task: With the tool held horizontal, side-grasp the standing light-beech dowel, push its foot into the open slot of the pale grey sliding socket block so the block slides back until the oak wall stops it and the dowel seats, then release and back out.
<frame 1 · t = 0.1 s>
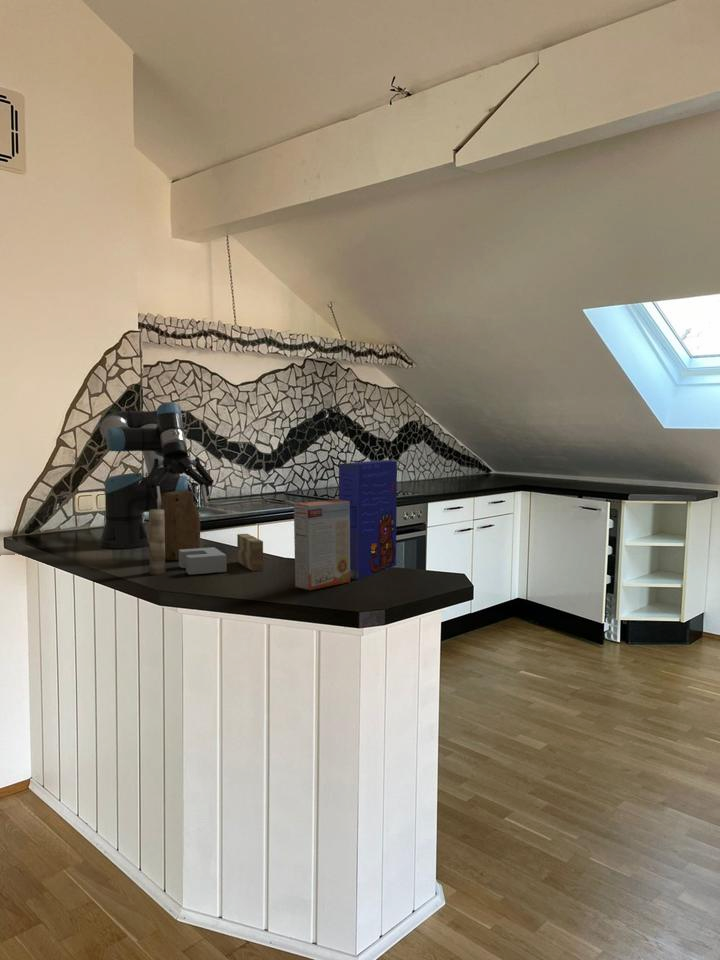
hand: (183, 506, 220), 15 cm above the counter, tool tilted 35°, fingers open, 13 cm apart
wall: (249, 565, 208), on the counter
dowel: (157, 573, 197), on the counter
block: (180, 559, 219), on the counter
cereal box: (368, 571, 202), on the counter
cracker box: (322, 585, 184), on the counter
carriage: (202, 560, 202), point 3 cm above the counter, slide at 0.0 cm
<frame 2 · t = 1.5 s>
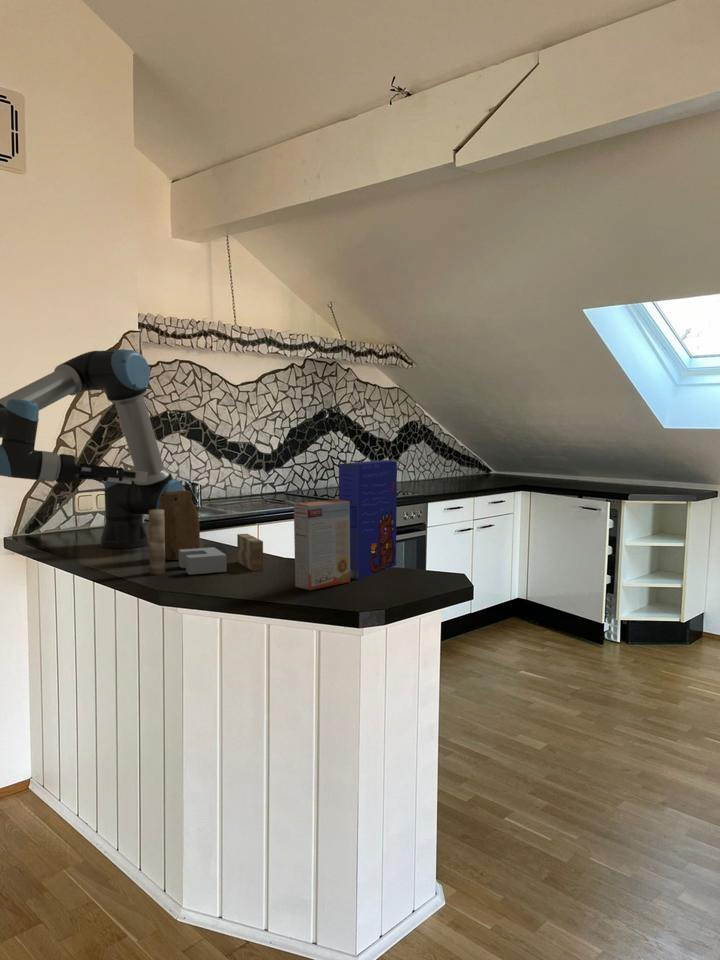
hand: (139, 478, 201), 25 cm above the counter, tool horizontal, fingers open, 13 cm apart
nothing on the counter moved.
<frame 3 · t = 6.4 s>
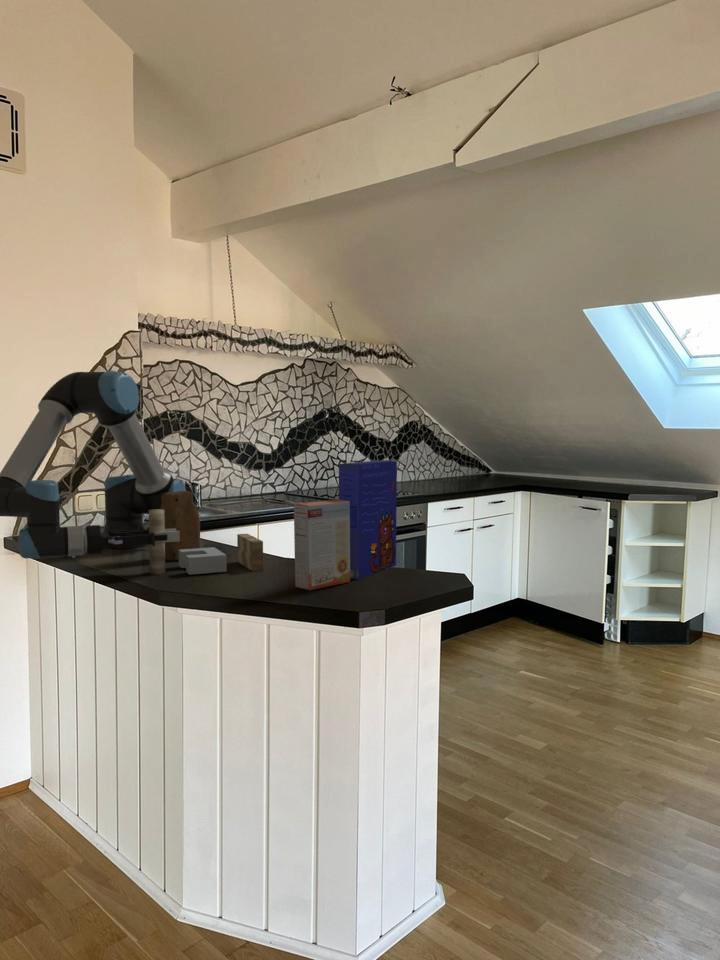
hand: (177, 534, 199), 10 cm above the counter, tool horizontal, fingers closed on dowel, 4 cm apart
dowel: (157, 573, 197), on the counter, touching gripper
everything else where it was.
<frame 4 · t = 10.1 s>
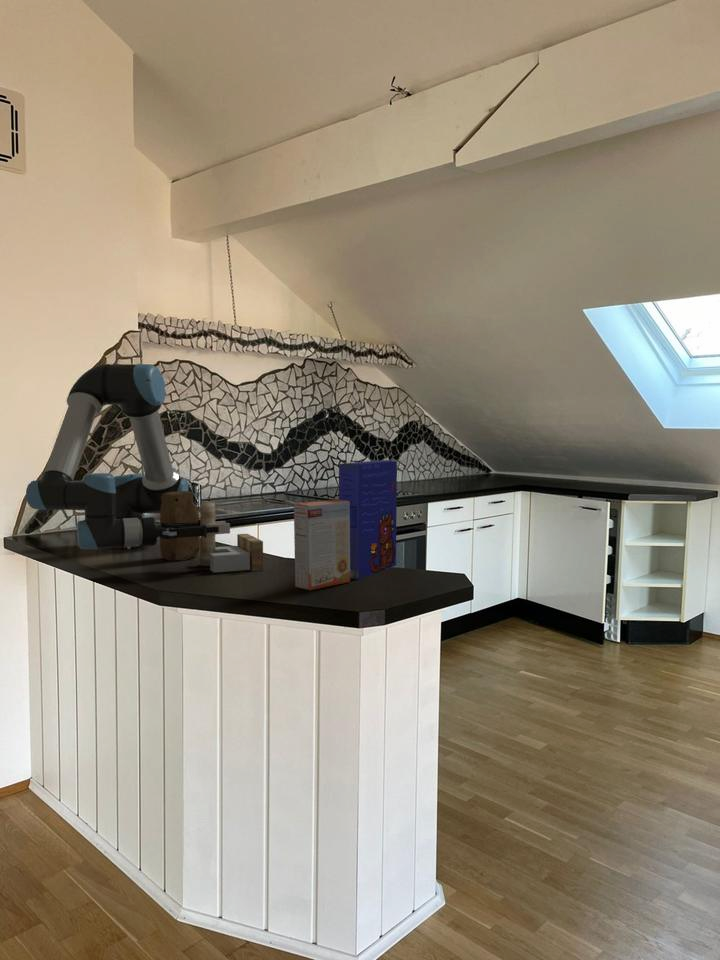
hand: (227, 527, 204), 11 cm above the counter, tool horizontal, fingers closed on dowel, 4 cm apart
dowel: (207, 564, 202), point 1 cm above the counter, touching gripper
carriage: (225, 558, 205), point 3 cm above the counter, slide at 6.5 cm
everything else where it was.
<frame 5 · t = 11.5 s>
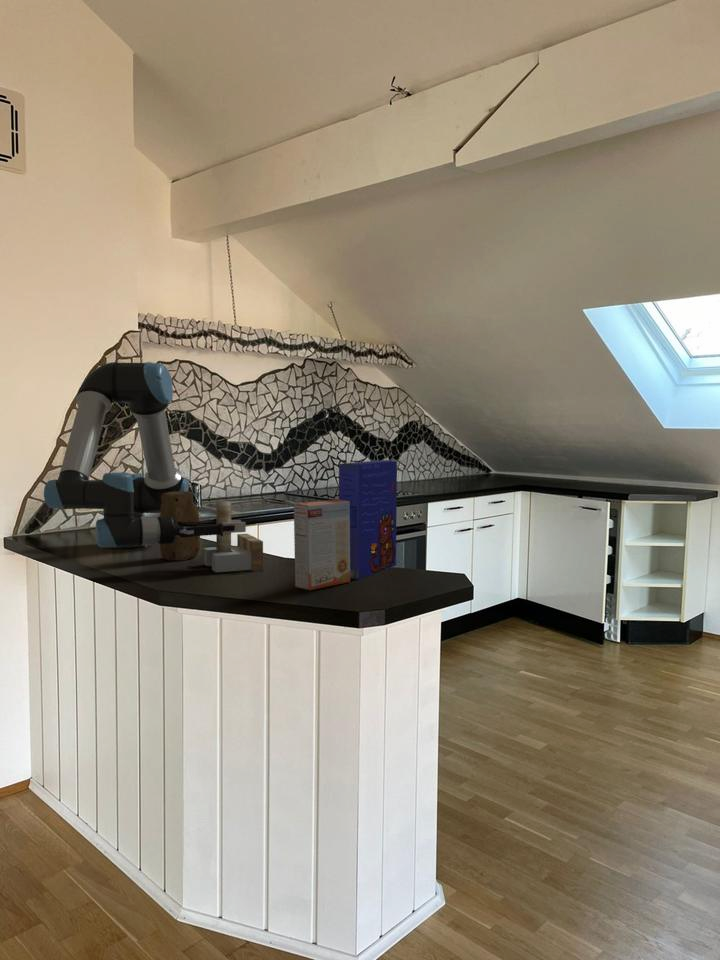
hand: (242, 525, 206), 11 cm above the counter, tool horizontal, fingers closed on dowel, 4 cm apart
dowel: (223, 562, 205), point 1 cm above the counter, touching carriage, gripper
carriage: (227, 558, 205), point 3 cm above the counter, slide at 7.0 cm, touching dowel, wall
everything else where it was.
when the fingers open (10 cm above the counter, at t = 12.4 s): dowel stays where it is, resting in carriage.
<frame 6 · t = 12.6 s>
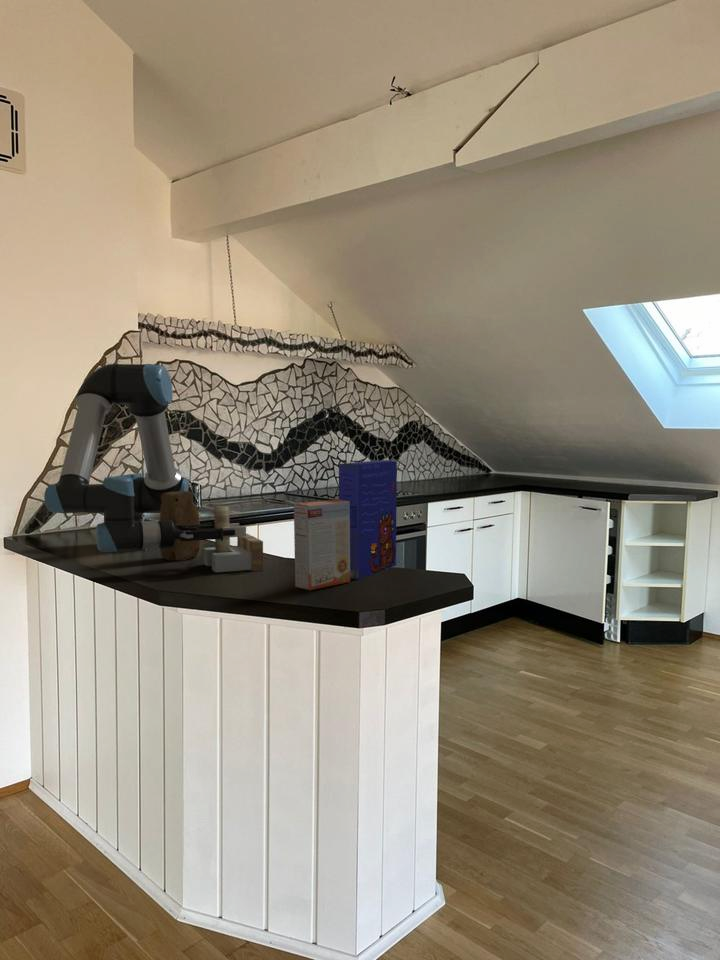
hand: (242, 529, 206), 10 cm above the counter, tool horizontal, fingers open, 6 cm apart
dowel: (223, 567, 205), resting in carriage
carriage: (227, 558, 205), point 3 cm above the counter, slide at 7.0 cm, touching wall
everything else where it was.
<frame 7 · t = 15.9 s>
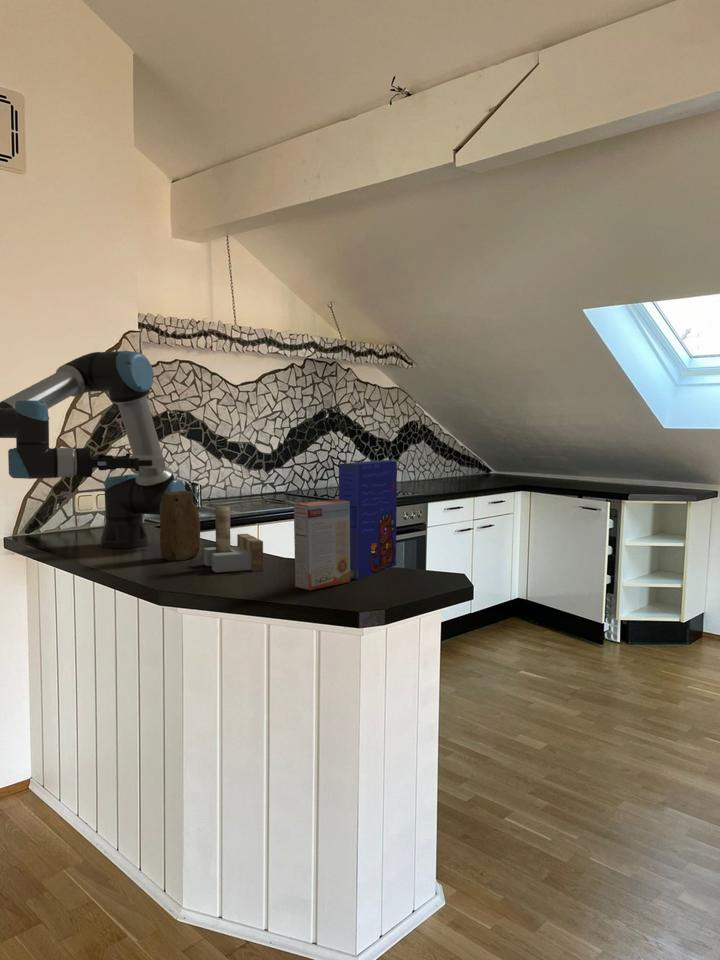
hand: (159, 461, 197), 30 cm above the counter, tool horizontal, fingers open, 13 cm apart
nothing on the counter moved.
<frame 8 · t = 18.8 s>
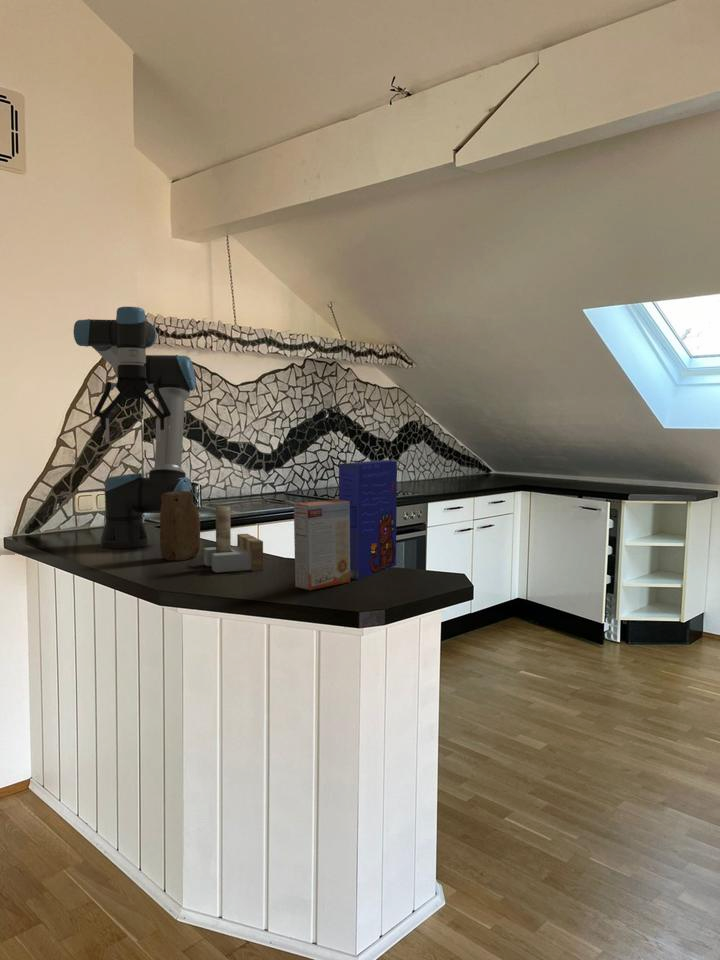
hand: (133, 442, 204), 35 cm above the counter, tool pointing down, fingers open, 13 cm apart
nothing on the counter moved.
at the end: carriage slide at 7.0 cm; dowel inside the target area on the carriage (0.6 cm from its centre), point 0.0 cm above the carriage's base; dowel tilted 0° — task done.
